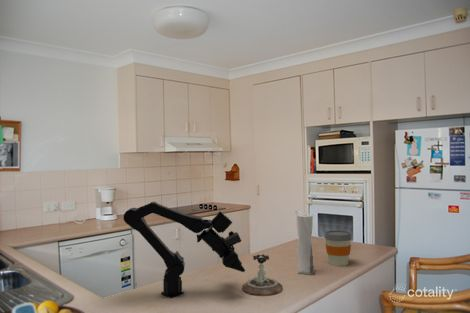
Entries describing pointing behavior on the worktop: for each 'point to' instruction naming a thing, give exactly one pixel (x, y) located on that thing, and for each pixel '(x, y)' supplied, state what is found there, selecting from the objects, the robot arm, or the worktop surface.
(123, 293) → the worktop surface
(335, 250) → the reusable coffee cup
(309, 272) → the skyscraper
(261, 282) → the valve
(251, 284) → the collar base
